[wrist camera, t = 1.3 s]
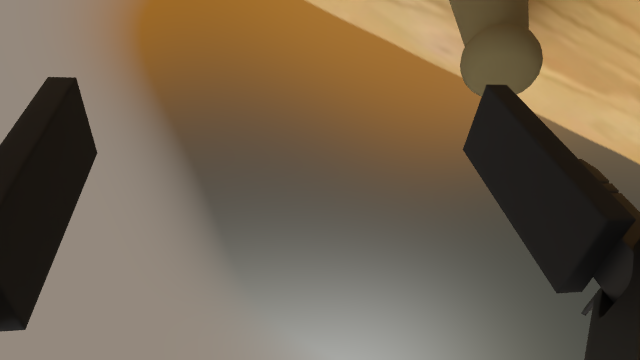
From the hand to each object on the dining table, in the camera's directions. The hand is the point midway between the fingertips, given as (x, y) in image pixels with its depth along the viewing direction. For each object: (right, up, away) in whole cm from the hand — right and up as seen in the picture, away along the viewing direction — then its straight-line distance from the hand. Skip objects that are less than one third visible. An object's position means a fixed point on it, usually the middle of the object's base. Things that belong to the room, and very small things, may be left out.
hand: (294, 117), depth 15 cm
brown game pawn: (+14, +14, +21) cm, 29 cm away
